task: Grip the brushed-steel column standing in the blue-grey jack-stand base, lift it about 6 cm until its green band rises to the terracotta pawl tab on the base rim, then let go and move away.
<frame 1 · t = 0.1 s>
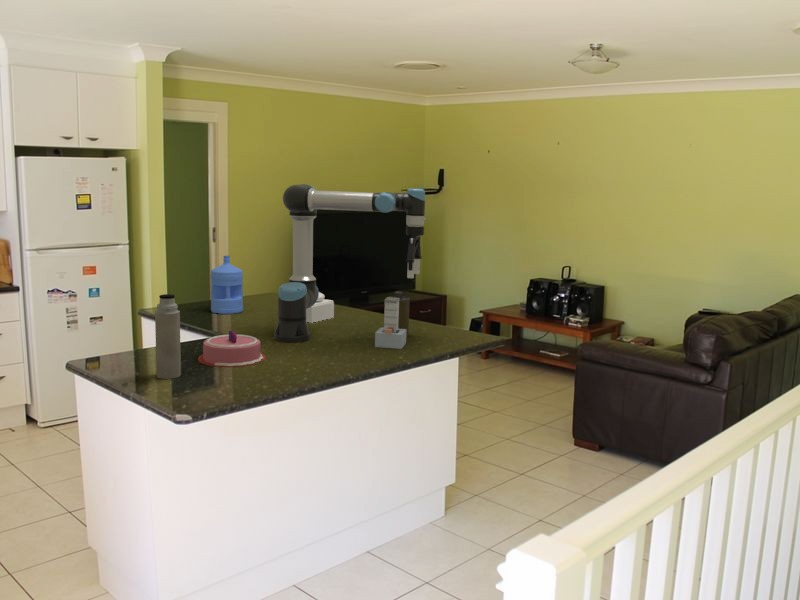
hand: (413, 276, 310), 28 cm above the counter, tool pointing down, fingers open, 13 cm apart
water jug: (227, 312, 366), on the counter
white box: (308, 319, 355), on the counter
stand base: (390, 347, 301), on the counter
column: (391, 321, 300), point 11 cm above the counter, slide at 0.0 cm
canister: (397, 337, 321), on the counter
cake: (232, 359, 276), on the counter
thermos bottle: (168, 376, 250), on the counter
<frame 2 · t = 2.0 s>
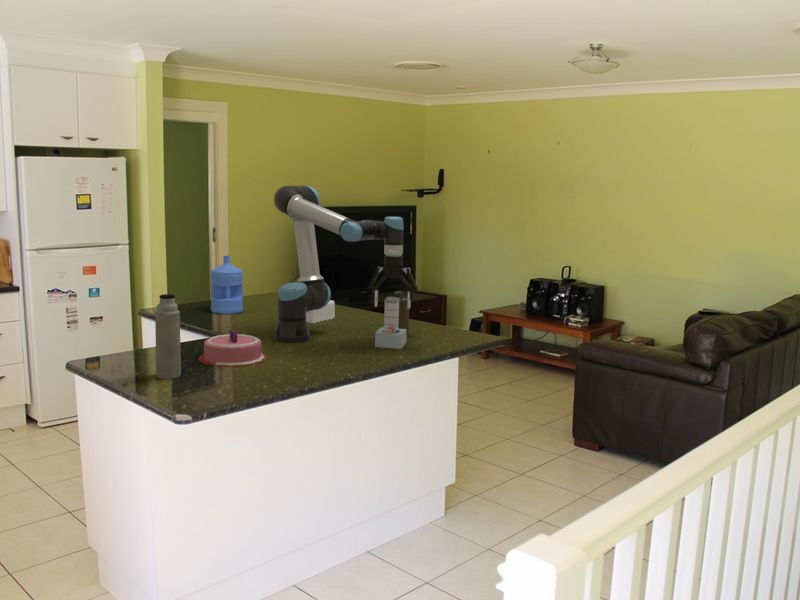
hand: (392, 307, 298), 17 cm above the counter, tool pointing down, fingers open, 13 cm apart
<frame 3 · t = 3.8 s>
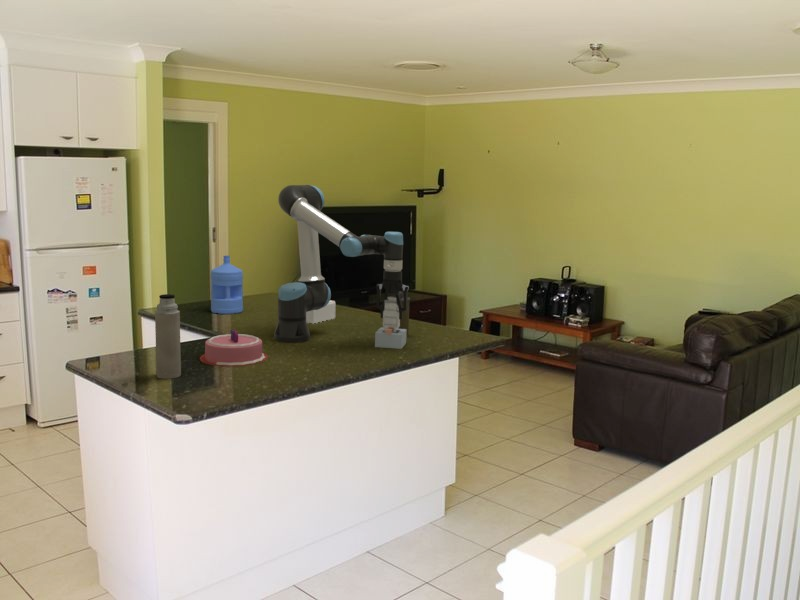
hand: (391, 326, 300), 9 cm above the counter, tool pointing down, fingers closed on column, 5 cm apart
column: (391, 321, 300), point 11 cm above the counter, slide at 0.0 cm, touching gripper
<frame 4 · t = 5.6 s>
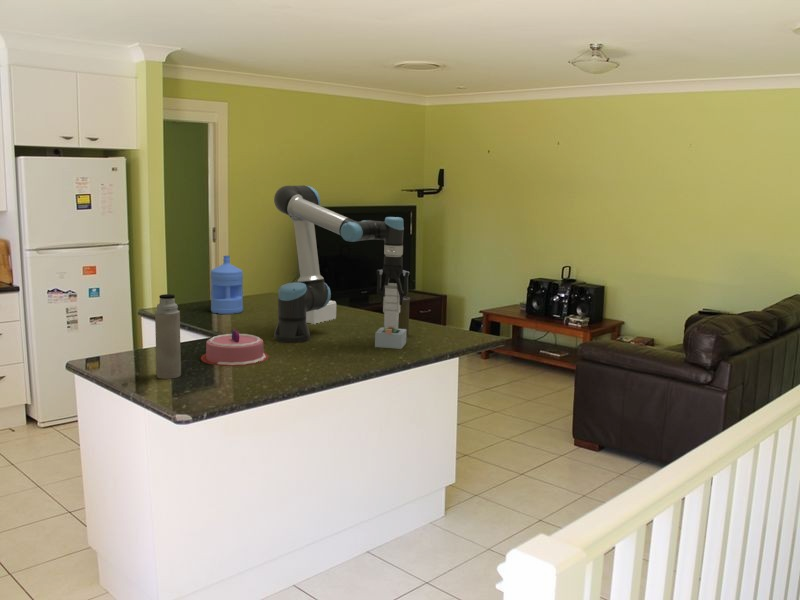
hand: (391, 312, 299), 15 cm above the counter, tool pointing down, fingers closed on column, 5 cm apart
column: (391, 307, 299), point 17 cm above the counter, slide at 5.9 cm, touching gripper
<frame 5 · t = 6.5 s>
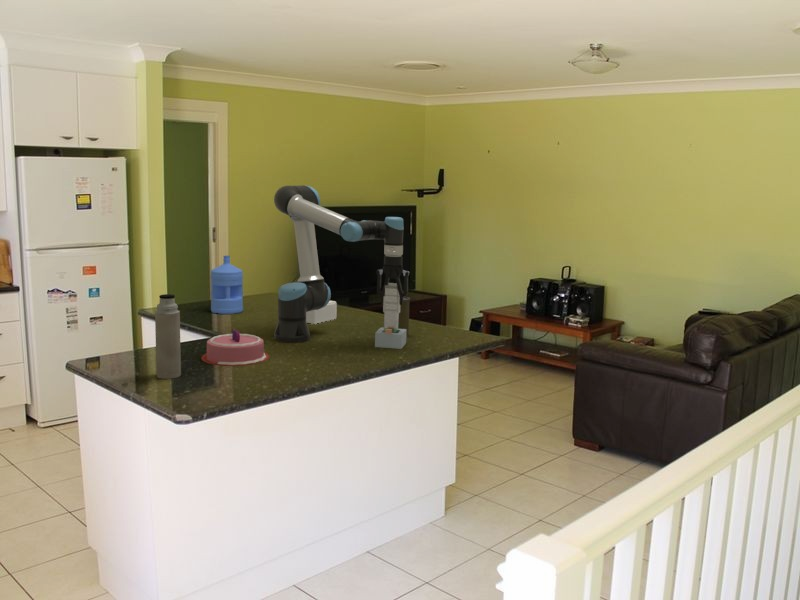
hand: (391, 312, 299), 15 cm above the counter, tool pointing down, fingers closed on column, 5 cm apart
column: (391, 307, 299), point 17 cm above the counter, slide at 6.0 cm, touching gripper
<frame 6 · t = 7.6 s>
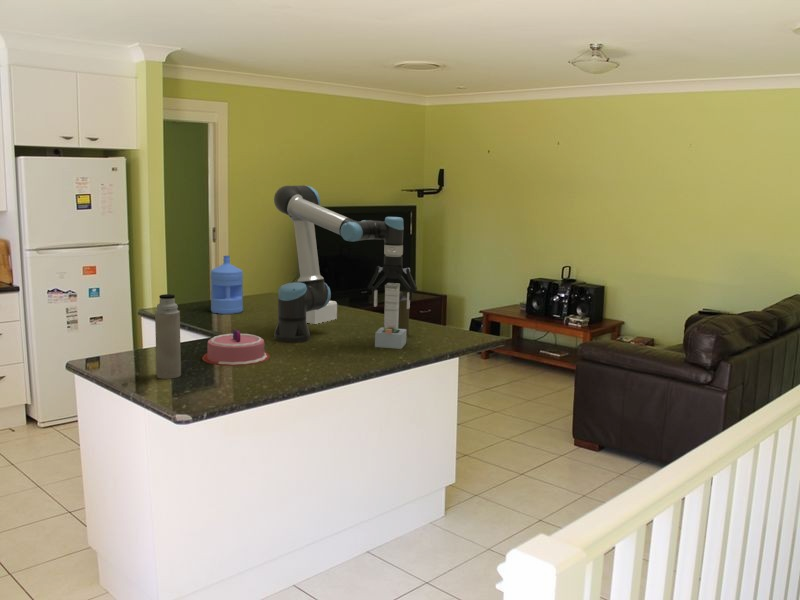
hand: (391, 307, 299), 17 cm above the counter, tool pointing down, fingers open, 13 cm apart
column: (391, 307, 299), point 17 cm above the counter, slide at 6.0 cm
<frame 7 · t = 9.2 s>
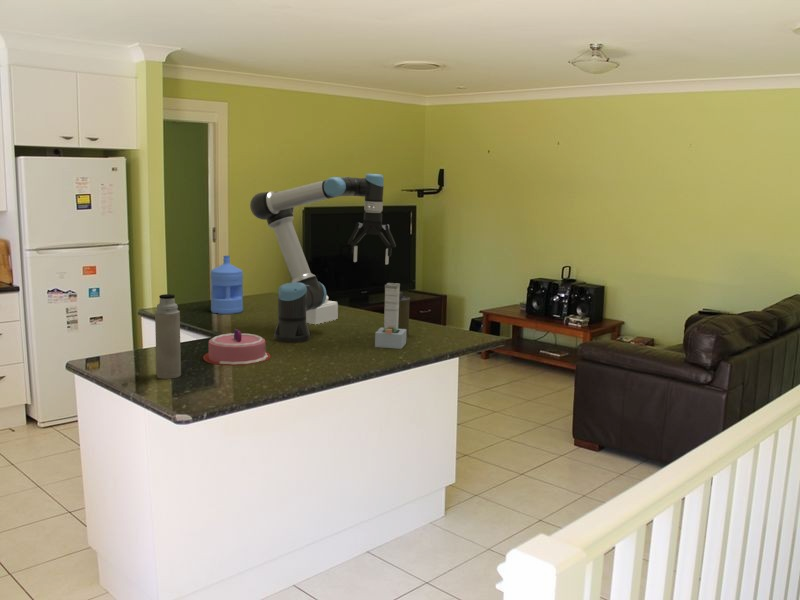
hand: (370, 262, 305), 33 cm above the counter, tool pointing down, fingers open, 13 cm apart
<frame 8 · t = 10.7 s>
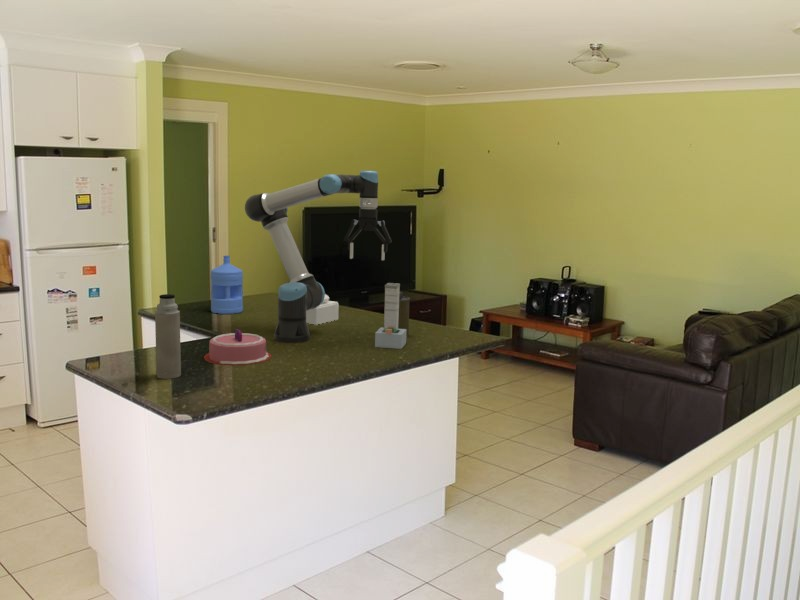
hand: (367, 259, 307), 35 cm above the counter, tool pointing down, fingers open, 13 cm apart
at the end: column slide at 6.0 cm; the gripper is holding nothing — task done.
